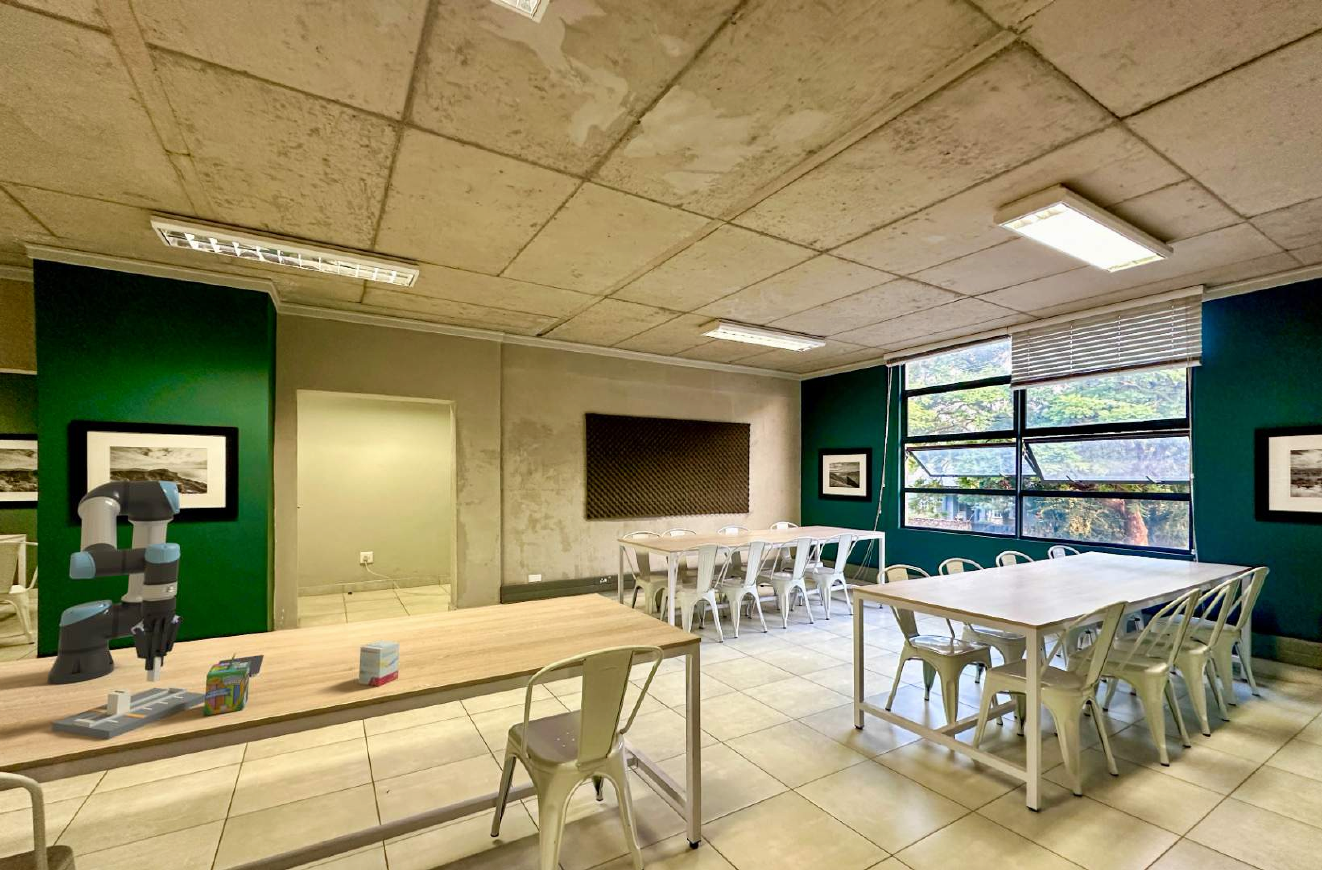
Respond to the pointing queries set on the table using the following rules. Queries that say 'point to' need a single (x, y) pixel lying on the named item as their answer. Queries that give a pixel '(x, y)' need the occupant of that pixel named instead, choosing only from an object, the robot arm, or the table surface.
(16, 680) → the table surface
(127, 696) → the fader tab
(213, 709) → the chalk box
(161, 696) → the console
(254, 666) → the notebook
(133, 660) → the table surface
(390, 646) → the ink box
